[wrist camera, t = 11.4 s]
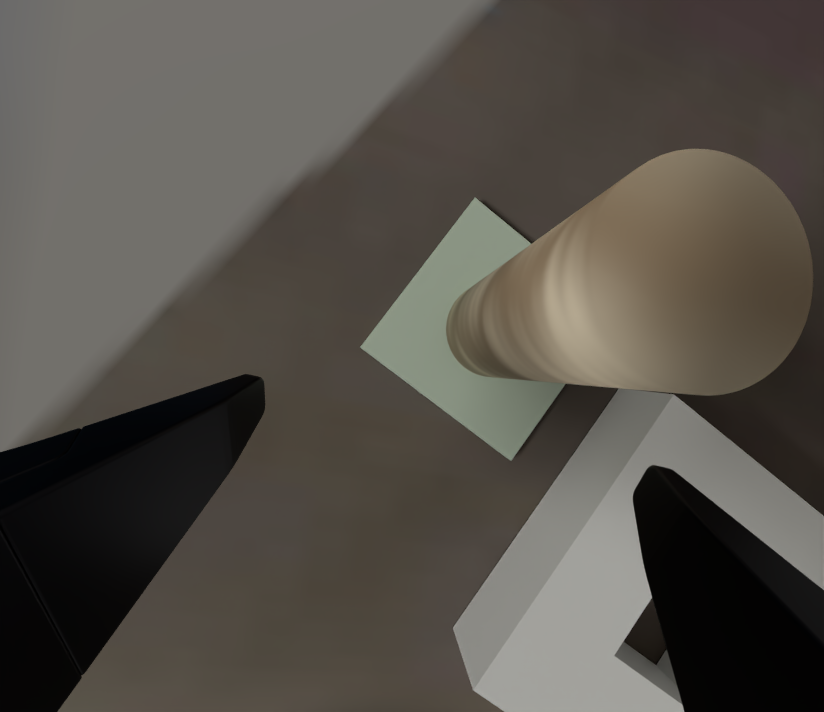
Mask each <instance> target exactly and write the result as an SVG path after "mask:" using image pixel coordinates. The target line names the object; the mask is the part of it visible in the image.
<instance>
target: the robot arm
mask: <svg viewBox="0 0 824 712" xmlns="http://www.w3.org/2000/svg"><path fill="white" fill-rule="evenodd" d="M264 410H265V390H264V381H263V379H262V378H261V377H258V376H253V375H249V374H244V375H241V376H238V377H235V378H232V379H228V380H225V381H222V382H219V383H216V384H213V385H210V386H207V387H204V388H201V389H198V390H195V391H192V392H188V393H185V394H182V395H179V396H176V397H173V398H170V399H167V400H164V401H161V402H158V403H155V404H152V405H149V406H145V407H142V408H139V409H136V410H133V411H130V412H127V413H124V414H121V415H118V416H115V417H112V418H109V419H105V420H102V421H99V422H96V423H93V424H90V425H87V426H84V427H83V428H82V429H80V428H77V429H74V430H71V431H68V432H65V433H62V434H59V435H56V436H53V437H50V438H46V439H43V440H40V441H37V442H34V443H30V444H27V445H24V446H21V447H17V448H14V449H10V450H7V451H3V452H0V712H57V711H58V710H59V709H60V707H61V706H62V704H63V703H64V702H65V700H66V699H67V698H68V696H69V695H70V693H71V692H72V691H73V689H74V688H75V686H76V685H77V684H78V682H79V681H80V680H81V678H82V676H81V675H83V674H84V673H85V672H86V671H87V669H88V668H89V667H90V665H91V664H92V662H93V661H94V660H95V658H96V657H97V655H98V654H99V653H100V651H101V650H102V648H103V647H104V646H105V644H106V643H107V642H108V640H109V639H110V637H111V636H112V635H113V633H114V632H115V630H116V629H117V628H118V626H119V625H120V624H121V622H122V621H123V619H124V618H125V617H126V615H127V614H128V612H129V611H130V610H131V608H132V607H133V605H134V604H135V603H136V601H137V600H138V599H139V597H140V596H141V594H142V593H143V592H144V590H145V589H146V587H147V586H148V585H149V583H150V582H151V581H152V579H153V578H154V576H155V575H156V574H157V572H158V571H159V569H160V568H161V567H162V565H163V564H164V562H165V561H166V560H167V558H168V557H169V556H170V554H171V553H172V551H173V550H174V549H175V547H176V546H177V544H178V543H179V542H180V540H181V539H182V538H183V536H184V535H185V533H186V532H187V531H188V529H189V528H190V526H191V525H192V524H193V522H194V521H195V520H196V518H197V517H198V515H199V514H200V513H201V511H202V510H203V508H204V507H205V506H206V504H207V503H208V501H209V500H210V499H211V497H212V496H213V495H214V493H215V492H216V490H217V489H218V488H219V486H220V485H221V483H222V482H223V481H224V479H225V478H226V477H227V475H228V474H229V472H230V471H231V469H232V468H233V466H234V465H235V463H236V461H237V460H238V458H239V456H240V455H241V453H242V451H243V449H244V447H245V446H246V444H247V442H248V440H249V439H250V437H251V435H252V433H253V431H254V430H255V428H256V426H257V424H258V423H259V421H260V419H261V417H262V415H263V413H264ZM633 506H634V512H635V518H636V524H637V530H638V536H639V542H640V548H641V554H642V560H643V564H644V569H645V573H646V577H647V581H648V584H649V588H650V591H651V595H652V599H653V602H654V606H655V609H656V613H657V616H658V620H659V623H660V627H661V631H662V634H663V638H664V641H665V645H666V648H667V652H668V656H669V659H670V663H671V666H672V670H673V673H674V677H675V680H676V684H677V688H678V691H679V695H680V698H681V702H682V705H683V709H684V712H824V590H823V589H822V588H821V587H819V586H818V585H817V584H816V583H814V582H813V581H812V580H811V579H809V578H808V577H807V576H806V575H804V574H803V573H802V572H800V571H799V570H798V569H797V568H795V567H794V566H793V565H792V564H790V563H789V562H788V561H787V560H785V559H784V558H783V557H782V556H780V555H779V554H778V553H777V552H775V551H774V550H773V549H772V548H770V547H769V546H768V545H767V544H765V543H764V542H763V541H762V540H760V539H759V538H758V537H757V536H755V535H754V534H753V533H752V532H750V531H749V530H748V529H747V528H745V527H744V526H743V525H742V524H740V523H739V522H738V521H737V520H735V519H734V518H733V517H732V516H730V515H729V514H728V513H727V512H725V511H724V510H723V509H721V508H720V507H719V506H718V505H716V504H715V503H714V502H713V501H711V500H710V499H709V498H708V497H706V496H705V495H704V494H703V493H701V492H700V491H699V490H698V489H696V488H695V487H694V486H693V485H691V484H690V483H689V482H688V481H686V480H685V479H684V478H683V477H681V476H680V475H679V474H678V473H676V472H675V471H674V470H672V469H670V468H666V467H661V466H657V465H651V466H649V467H648V468H647V469H646V471H645V473H644V474H643V476H642V478H641V480H640V481H639V483H638V485H637V486H636V488H635V490H634V493H633Z"/></svg>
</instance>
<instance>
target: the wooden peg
mask: <svg viewBox="0 0 824 712" xmlns="http://www.w3.org/2000/svg"><path fill="white" fill-rule="evenodd" d="M812 293H813V266H812V257H811V252H810V247H809V243H808V240H807V237H806V233H805V230H804V228H803V226H802V223H801V221H800V219H799V216H798V215H797V213H796V211H795V209H794V208H793V206H792V204H791V203H790V201H789V200H788V199H787V197H786V196H785V195H784V193H783V192H782V191H781V189H780V188H779V187H778V186H777V185H776V184H775V183H774V182H773V181H772V180H771V179H770V178H769V177H767V176H766V175H765V174H764V173H763V172H761V171H760V170H759V169H757V168H756V167H754V166H753V165H751V164H749V163H748V162H746V161H744V160H742V159H739V158H737V157H735V156H733V155H730V154H726V153H723V152H720V151H714V150H707V149H686V150H678V151H674V152H670V153H667V154H663V155H661V156H658V157H656V158H654V159H652V160H650V161H648V162H646V163H645V164H643V165H642V166H640V167H639V168H637V169H636V170H634V171H633V172H631V173H630V174H629V175H627V176H626V177H624V178H623V179H622V180H620V181H619V182H617V183H616V184H615V185H613V186H612V187H610V188H609V189H608V190H606V191H605V192H603V193H602V194H601V195H599V196H598V197H596V198H595V199H594V200H592V201H591V202H589V203H588V204H587V205H585V206H584V207H582V208H581V209H580V210H578V211H577V212H575V213H574V214H573V215H571V216H570V217H569V218H567V219H566V220H564V221H563V222H562V223H560V224H559V225H557V226H556V227H555V228H553V229H552V230H550V231H549V232H548V233H546V234H545V235H543V236H542V237H541V238H539V239H538V240H536V241H535V242H534V243H532V244H531V245H529V246H528V247H527V248H525V249H524V250H522V251H521V252H520V253H518V254H517V255H515V256H514V257H513V258H511V259H510V260H508V261H507V262H506V263H504V264H503V265H501V266H500V267H499V268H497V269H496V270H494V271H493V272H492V273H490V274H489V275H487V276H486V277H485V278H483V279H482V280H480V281H479V282H478V283H476V284H475V285H473V286H472V287H471V288H469V289H468V290H466V291H465V292H464V293H463V294H461V295H460V296H459V297H458V299H457V300H456V301H455V302H454V304H453V305H452V307H451V309H450V312H449V314H448V318H447V323H446V336H447V341H448V344H449V347H450V350H451V352H452V354H453V355H454V357H455V358H456V359H457V361H458V362H459V363H460V364H461V365H462V366H463V367H464V368H466V369H467V370H469V371H471V372H473V373H474V374H477V375H480V376H485V377H494V378H506V379H517V380H529V381H540V382H552V383H563V384H575V385H587V386H598V387H610V388H621V389H633V390H645V391H656V392H668V393H679V394H691V395H705V396H712V395H723V394H728V393H732V392H736V391H739V390H742V389H744V388H747V387H750V386H752V385H753V384H755V383H757V382H759V381H760V380H762V379H764V378H765V377H766V376H768V375H769V374H770V373H771V372H773V371H774V370H775V369H776V368H777V367H778V366H779V365H780V364H781V363H782V362H783V361H784V360H785V359H786V357H787V356H788V355H789V353H790V352H791V351H792V349H793V348H794V346H795V344H796V343H797V341H798V339H799V337H800V335H801V333H802V331H803V328H804V326H805V323H806V321H807V317H808V313H809V310H810V306H811V299H812Z"/></svg>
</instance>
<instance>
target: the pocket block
mask: <svg viewBox="0 0 824 712" xmlns="http://www.w3.org/2000/svg"><path fill="white" fill-rule="evenodd" d="M651 465H657V466H661V467H666V468H670V469H672V470H674V471H675V472H676V473H678V474H679V475H680V476H681V477H683V478H684V479H685V480H686V481H688V482H689V483H690V484H691V485H693V486H694V487H695V488H696V489H698V490H699V491H700V492H701V493H703V494H704V495H705V496H706V497H708V498H709V499H710V500H711V501H713V502H714V503H715V504H716V505H718V506H719V507H720V508H721V509H723V510H724V511H725V512H727V513H728V514H729V515H730V516H732V517H733V518H734V519H735V520H737V521H738V522H739V523H740V524H742V525H743V526H744V527H745V528H747V529H748V530H749V531H750V532H752V533H753V534H754V535H755V536H757V537H758V538H759V539H760V540H762V541H763V542H764V543H765V544H767V545H768V546H769V547H770V548H772V549H773V550H774V551H775V552H777V553H778V554H779V555H780V556H782V557H783V558H784V559H785V560H787V561H788V562H789V563H790V564H792V565H793V566H794V567H795V568H797V569H798V570H799V571H800V572H802V573H803V574H804V575H806V576H807V577H808V578H809V579H811V580H812V581H813V582H814V583H816V584H817V585H818V586H819V587H821V588H822V589H823V590H824V516H823V515H822V514H820V513H819V512H818V511H817V510H816V509H814V508H813V507H812V506H811V505H809V504H808V503H807V502H806V501H804V500H803V499H802V498H801V497H800V496H798V495H797V494H796V493H795V492H793V491H792V490H791V489H790V488H788V487H787V486H786V485H785V484H784V483H782V482H781V481H780V480H779V479H777V478H776V477H775V476H774V475H772V474H771V473H770V472H769V471H768V470H766V469H765V468H764V467H763V466H761V465H760V464H759V463H758V462H756V461H755V460H754V459H753V458H752V457H750V456H749V455H748V454H747V453H745V452H744V451H743V450H742V449H740V448H739V447H738V446H737V445H736V444H734V443H733V442H732V441H731V440H729V439H728V438H727V437H726V436H724V435H723V434H722V433H721V432H720V431H718V430H717V429H716V428H715V427H713V426H712V425H711V424H710V423H708V422H707V421H706V420H705V419H704V418H702V417H701V416H700V415H699V414H697V413H696V412H695V411H694V410H692V409H691V408H690V407H689V406H688V405H686V404H685V403H684V402H683V401H681V400H680V399H679V398H678V397H676V396H675V395H674V394H666V393H657V392H648V391H639V390H630V389H620V388H619V389H618V390H617V392H616V393H615V395H614V396H613V398H612V399H611V400H610V402H609V403H608V405H607V406H606V408H605V409H604V411H603V412H602V413H601V415H600V416H599V418H598V419H597V421H596V422H595V424H594V425H593V426H592V428H591V429H590V431H589V432H588V434H587V435H586V437H585V438H584V439H583V441H582V442H581V444H580V445H579V447H578V448H577V450H576V451H575V452H574V454H573V455H572V457H571V458H570V460H569V461H568V463H567V464H566V465H565V467H564V468H563V470H562V471H561V473H560V474H559V475H558V477H557V478H556V480H555V481H554V483H553V484H552V486H551V487H550V488H549V490H548V491H547V493H546V494H545V496H544V497H543V499H542V500H541V501H540V503H539V504H538V506H537V507H536V509H535V510H534V512H533V513H532V514H531V516H530V517H529V519H528V520H527V522H526V523H525V525H524V526H523V527H522V529H521V530H520V532H519V533H518V535H517V536H516V538H515V539H514V540H513V542H512V543H511V545H510V546H509V548H508V549H507V550H506V552H505V553H504V555H503V556H502V558H501V559H500V561H499V562H498V563H497V565H496V566H495V568H494V569H493V571H492V572H491V574H490V575H489V576H488V578H487V579H486V581H485V582H484V584H483V585H482V587H481V588H480V589H479V591H478V592H477V594H476V595H475V597H474V598H473V600H472V601H471V602H470V604H469V605H468V607H467V608H466V610H465V611H464V613H463V614H462V615H461V617H460V618H459V620H458V621H457V623H456V624H455V626H454V627H453V630H454V633H455V636H456V639H457V642H458V645H459V648H460V651H461V654H462V657H463V661H464V664H465V667H466V670H467V673H468V676H469V679H470V682H471V685H472V688H473V690H474V691H475V692H476V693H478V694H479V695H481V696H482V697H484V698H485V699H487V700H488V701H490V702H491V703H493V704H494V705H496V706H497V707H499V708H500V709H501V710H503V711H504V712H684V709H683V705H682V702H681V698H680V695H679V691H678V688H677V684H676V680H675V677H674V673H673V670H672V666H671V663H670V659H669V656H668V652H667V649H666V651H665V652H664V654H663V656H662V657H661V659H660V660H659V662H658V663H657V665H655V664H654V663H652V662H651V661H650V660H648V659H647V658H646V657H644V656H643V655H641V654H640V653H639V652H637V651H636V650H635V649H633V648H632V647H630V646H629V645H628V644H626V643H625V642H623V641H624V640H625V638H626V637H627V635H628V634H629V632H630V631H631V629H632V627H633V626H634V624H635V623H636V621H637V620H638V618H639V617H640V615H641V614H642V612H643V611H644V609H645V607H646V606H647V604H648V603H649V601H650V600H651V598H652V595H651V591H650V588H649V584H648V581H647V577H646V573H645V569H644V564H643V560H642V554H641V548H640V542H639V536H638V530H637V524H636V518H635V512H634V506H633V493H634V490H635V488H636V486H637V485H638V483H639V481H640V480H641V478H642V476H643V474H644V473H645V471H646V469H647V468H648V467H649V466H651Z"/></svg>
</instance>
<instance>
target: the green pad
mask: <svg viewBox="0 0 824 712" xmlns="http://www.w3.org/2000/svg"><path fill="white" fill-rule="evenodd" d="M529 245H531V243H530V242H529V241H527V240H526V239H525V238H524V237H522V236H521V235H520V234H519V233H518V232H516V231H515V230H514V229H513V228H511V227H510V226H509V225H508V224H507V223H505V222H504V221H503V220H502V219H501V218H499V217H498V216H497V215H496V214H494V213H493V212H492V211H491V210H490V209H488V208H487V207H486V206H485V205H484V204H482V203H481V202H480V201H479V200H477V199H476V198H474V200H473V201H472V202H471V204H470V205H469V206H468V207H467V209H466V210H465V211H464V213H463V214H462V215H461V217H460V218H459V219H458V220H457V222H456V223H455V224H454V226H453V227H452V228H451V230H450V231H449V232H448V234H447V235H446V236H445V237H444V239H443V240H442V241H441V243H440V244H439V245H438V247H437V248H436V249H435V250H434V252H433V253H432V254H431V256H430V257H429V258H428V260H427V261H426V262H425V264H424V265H423V266H422V267H421V269H420V270H419V271H418V273H417V274H416V275H415V277H414V278H413V279H412V280H411V282H410V283H409V284H408V286H407V287H406V288H405V290H404V291H403V292H402V294H401V295H400V296H399V297H398V299H397V300H396V301H395V303H394V304H393V305H392V307H391V308H390V309H389V310H388V312H387V313H386V314H385V316H384V317H383V318H382V320H381V321H380V322H379V323H378V325H377V326H376V327H375V329H374V330H373V331H372V333H371V334H370V335H369V337H368V338H367V339H366V340H365V342H364V343H363V344H362V346H361V347H360V348H362V349H363V350H364V351H366V352H367V353H368V354H369V355H371V356H372V357H373V358H375V359H376V360H377V361H379V362H380V363H381V364H383V365H384V366H385V367H387V368H388V369H389V370H391V371H392V372H393V373H395V374H396V375H397V376H399V377H400V378H401V379H403V380H404V381H405V382H407V383H408V384H409V385H411V386H412V387H413V388H415V389H416V390H417V391H419V392H420V393H421V394H423V395H424V396H425V397H426V398H428V399H429V400H430V401H432V402H433V403H434V404H436V405H437V406H438V407H440V408H441V409H442V410H444V411H445V412H446V413H448V414H449V415H450V416H452V417H453V418H454V419H456V420H457V421H458V422H460V423H461V424H462V425H464V426H465V427H466V428H468V429H469V430H470V431H472V432H473V433H474V434H476V435H477V436H478V437H480V438H481V439H482V440H483V441H485V442H486V443H487V444H489V445H490V446H491V447H493V448H494V449H495V450H497V451H498V452H499V453H501V454H502V455H503V456H505V457H506V458H507V459H509V460H510V461H511V460H512V459H513V458H514V456H515V455H516V453H517V452H518V450H519V449H520V448H521V446H522V445H523V443H524V442H525V441H526V439H527V438H528V436H529V435H530V434H531V432H532V431H533V429H534V428H535V426H536V425H537V424H538V422H539V421H540V419H541V418H542V417H543V415H544V414H545V412H546V411H547V410H548V408H549V407H550V405H551V404H552V402H553V401H554V400H555V398H556V397H557V395H558V394H559V393H560V391H561V390H562V388H563V387H564V385H565V384H563V383H552V382H540V381H529V380H517V379H506V378H494V377H485V376H480V375H477V374H474V373H473V372H471V371H469V370H467V369H466V368H464V367H463V366H462V365H461V364H460V363H459V362H458V361H457V359H456V358H455V357H454V355H453V354H452V352H451V350H450V347H449V344H448V341H447V336H446V323H447V318H448V314H449V312H450V309H451V307H452V305H453V304H454V302H455V301H456V300H457V299H458V297H459V296H460V295H461V294H463V293H464V292H465V291H466V290H468V289H469V288H471V287H472V286H473V285H475V284H476V283H478V282H479V281H480V280H482V279H483V278H485V277H486V276H487V275H489V274H490V273H492V272H493V271H494V270H496V269H497V268H499V267H500V266H501V265H503V264H504V263H506V262H507V261H508V260H510V259H511V258H513V257H514V256H515V255H517V254H518V253H520V252H521V251H522V250H524V249H525V248H527V247H528V246H529Z"/></svg>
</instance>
